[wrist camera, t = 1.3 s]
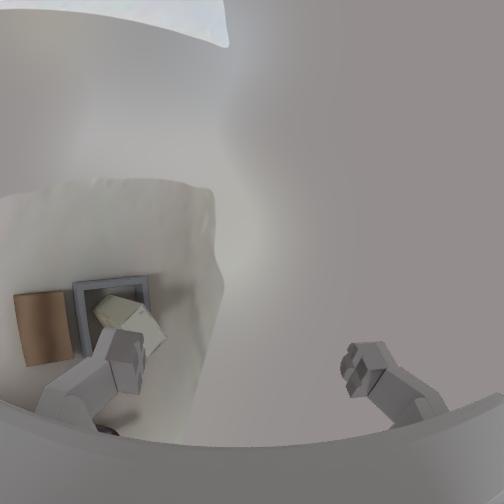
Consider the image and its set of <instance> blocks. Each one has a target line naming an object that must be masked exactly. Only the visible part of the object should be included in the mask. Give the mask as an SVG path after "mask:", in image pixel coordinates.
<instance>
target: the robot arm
mask: <svg viewBox="0 0 504 504" xmlns="http://www.w3.org/2000/svg"><path fill="white" fill-rule="evenodd" d="M143 343H144V336H143V333H139V332H133V331H127V330H121V329H113V328H108V327H105V328H104V329H103V330H102V332H101V335H100V337H99V340H98V342H97V344H96V347H95V349H94V352H93V355H92V357H87V358H86V359H84V360H83V361H81V362H80V363H78V364H77V365H75V366H74V367H72V368H71V369H70V370H68V371H67V372H65V373H64V374H62V375H61V376H59V377H58V378H56V379H55V380H53V381H52V382H51V383H49V384H48V385H46V386H45V387H44V389H43V392H42V394H41V397H40V399H39V402H38V404H37V407H36V409H35V412H31V411H28V410H26V409H23V408H21V407H18V406H16V405H13V404H11V403H8V402H6V401H4V400H1V399H0V504H504V395H502V394H500V393H494V394H492V395H490V396H487V397H485V398H483V399H481V400H479V401H476V402H474V403H471V404H469V405H466V406H464V407H461V408H458V409H456V410H453V411H449V410H448V408H447V406H446V404H445V403H444V401H443V399H442V397H441V396H440V394H439V392H437V391H436V390H434V389H433V388H431V387H430V386H429V385H427V384H426V383H424V382H423V381H421V380H419V379H418V378H417V377H415V376H414V375H412V374H411V373H409V372H408V371H406V370H405V369H403V368H402V367H398V365H397V364H396V362H395V360H394V358H393V357H392V355H391V353H390V351H389V350H388V349H387V346H386V345H385V343H384V342H382V341H379V342H365V343H364V342H363V343H351V344H350V345H349V347H348V349H347V351H348V354H347V355H345V356H344V357H343V359H342V361H341V366H340V371H341V375H342V378H343V379H344V380H346V381H347V384H346V388H347V391H348V393H349V396H350V398H356V397H365V396H368V398H369V399H370V400H371V401H372V402H373V403H374V404H375V405H376V406H377V407H378V408H379V409H380V410H381V411H382V412H383V413H384V414H385V415H386V416H388V418H390V419H391V420H392V421H393V422H394V424H393V425H392V426H391V427H390V428H389V429H388V430H386V431H382V432H378V433H373V434H368V435H363V436H358V437H353V438H347V439H341V440H334V441H327V442H319V443H311V444H301V445H291V446H275V447H250V448H249V447H239V448H238V447H234V448H233V447H204V446H203V447H202V446H189V445H178V444H168V443H160V442H152V441H145V440H139V439H133V438H127V437H121V436H116V435H111V434H107V433H102V432H98V430H97V428H96V426H95V424H94V423H93V421H92V418H93V417H94V416H95V415H96V414H97V413H98V412H99V411H100V410H101V409H102V408H103V407H104V406H105V405H106V404H107V403H108V402H109V401H110V400H111V399H112V398H113V397H114V396H115V395H116V394H117V393H118V392H123V393H130V394H137V395H139V393H140V388H141V383H142V378H141V374H142V373H143V372H144V368H145V360H146V353H145V348H144V347H143Z"/></svg>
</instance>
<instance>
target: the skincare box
mask: <svg viewBox="0 0 504 504" xmlns="http://www.w3.org/2000/svg"><path fill="white" fill-rule="evenodd" d="M91 311H92V313H93V314H94V315H95V317H96V318H97V320H98V321H99V322H100V324H101V325H102V326H103V327H104V328H105V327H108V328H113V329H121V330H127V331H133V332H139V333H143V336H144V343H143V347H144V348H145V353H146V358H148V357H149V356H150V355H151V354H152V353H153V352H154V351H155V350H156V349H157V348H158V347H159V346H160V345H161V344H162V343H163V342H164V341H165V340H166V338H167V336H166V334H165V333H164V332H163V330H162V329H161V327H160V326H159V325H158V323H157V322H156V320H155V319H154V318H153V316H152V315H151V314H150V312H149V311H148V310H147V308H146V307H145V306H144V304H142V303H139V302H135V301H131V300H128V299H124V298H121V297H118V296H114V295H111V294H108V295H107V296H106V297H105V298H103V299H102V300H101V301H100V302H99V303H98V304H97V305H96V306H95V307H93V308H92V309H91Z"/></svg>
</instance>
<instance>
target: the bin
mask: <svg viewBox="0 0 504 504" xmlns="http://www.w3.org/2000/svg"><path fill="white" fill-rule="evenodd" d="M72 284H73V294H74V302H75V310H76V317H77V324H78V330H79V336H80V342H81V347H82V352H83V357H84V359H86V358H87V357H92V355H93V352H94V350H92V346H91V340H90V334H89V328H88V321H87V314H86V306H85V298H84V290H92V289H101V288H109V287H118V286H126V285H134V284H135V292H136V302H139V303H142V304H144V306H145V307H146V308H147V310H148V311H149V312H150V314H151V310H150V300H149V289H148V277H147V276H132V277H123V278H113V279H103V280H93V281H83V282H73V283H72Z"/></svg>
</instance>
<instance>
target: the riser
mask: <svg viewBox="0 0 504 504" xmlns="http://www.w3.org/2000/svg"><path fill="white" fill-rule="evenodd" d="M13 296H14V304H15V311H16V317H17V323H18V329H19V334H20V339H21V344H22V348H23V353H24V357H25V361H26V365H27V366H34V365H40V364H46V363H51V362H57V361H63V360H68V359H73V358H74V355H73V350H72V345H71V340H70V334H69V328H68V322H67V315H66V308H65V300H64V292H63V291H51V292H41V293H31V294H21V295H13Z"/></svg>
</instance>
